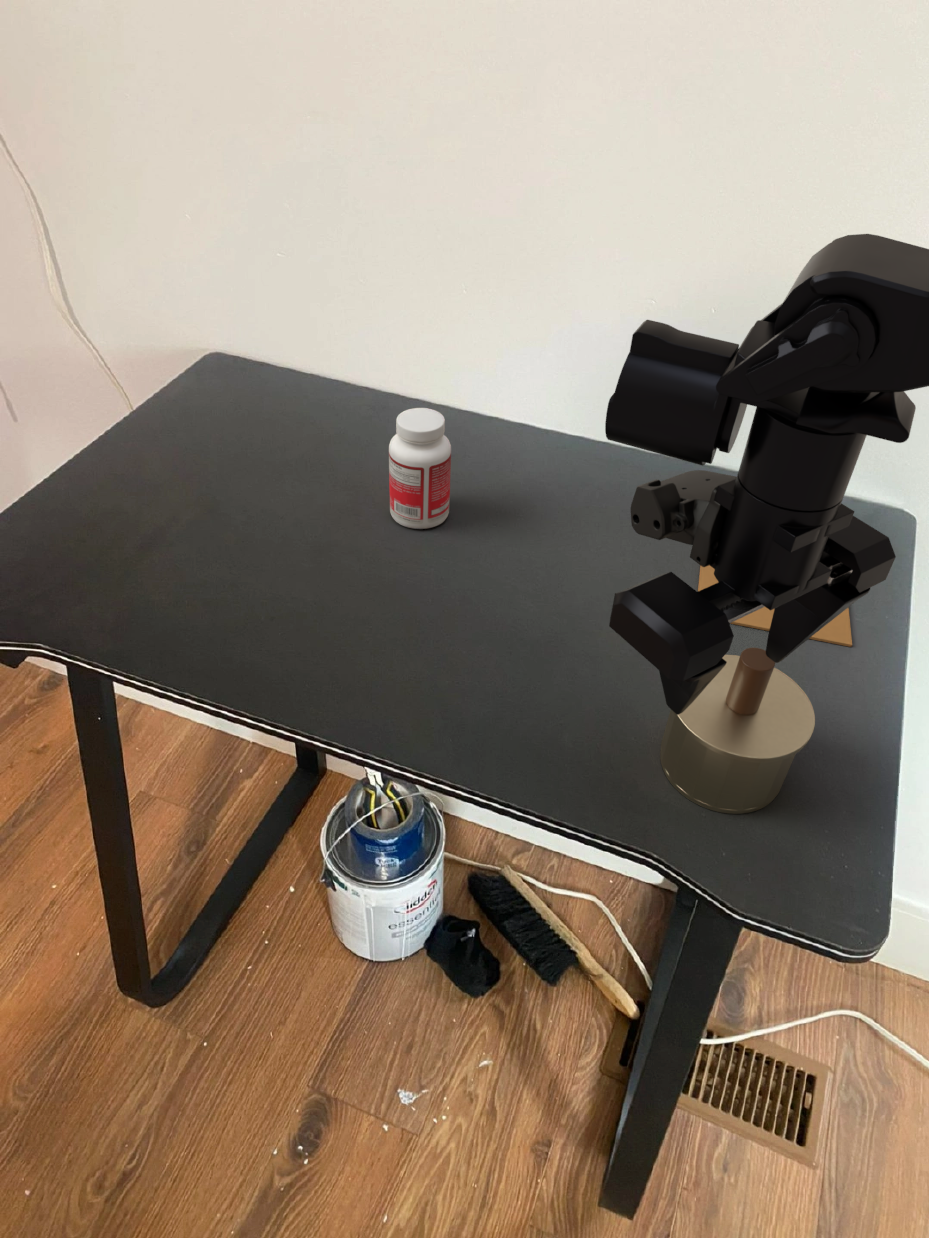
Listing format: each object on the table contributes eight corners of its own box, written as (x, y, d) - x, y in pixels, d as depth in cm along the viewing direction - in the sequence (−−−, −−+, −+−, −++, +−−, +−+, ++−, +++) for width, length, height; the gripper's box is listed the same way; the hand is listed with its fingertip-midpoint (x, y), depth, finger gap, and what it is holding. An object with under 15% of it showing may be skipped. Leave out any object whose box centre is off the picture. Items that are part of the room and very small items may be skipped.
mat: (838, 514, 99) (839, 512, 99) (851, 647, 83) (852, 644, 83) (707, 491, 101) (708, 489, 101) (695, 616, 85) (695, 614, 85)
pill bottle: (443, 495, 98) (446, 402, 91) (454, 528, 94) (458, 433, 87) (385, 499, 97) (384, 405, 90) (393, 533, 93) (393, 437, 85)
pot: (744, 711, 76) (764, 655, 72) (805, 800, 70) (831, 743, 65) (640, 731, 74) (655, 674, 70) (693, 825, 67) (712, 768, 63)
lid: (765, 655, 73) (784, 601, 69) (839, 753, 65) (865, 698, 62) (645, 676, 70) (658, 621, 67) (707, 780, 63) (726, 725, 59)
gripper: (792, 385, 60) (735, 573, 70) (566, 459, 51) (539, 660, 62) (941, 464, 53) (853, 660, 63) (709, 565, 45) (651, 771, 55)
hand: (724, 683), depth 61 cm, fingers open, 9 cm apart
